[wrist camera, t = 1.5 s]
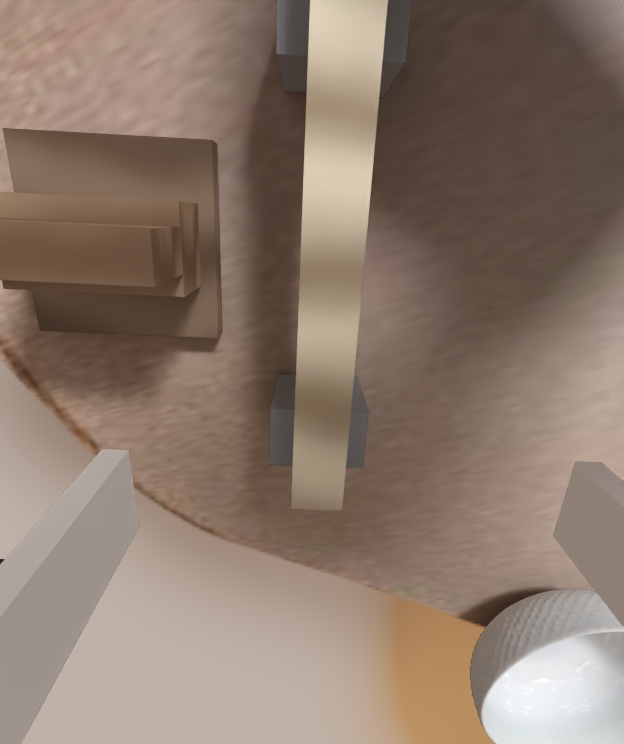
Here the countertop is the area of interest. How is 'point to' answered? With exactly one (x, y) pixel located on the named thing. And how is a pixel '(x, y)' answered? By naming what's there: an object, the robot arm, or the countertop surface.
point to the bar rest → (294, 79)
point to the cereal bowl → (551, 671)
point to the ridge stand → (114, 232)
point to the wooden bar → (333, 237)
